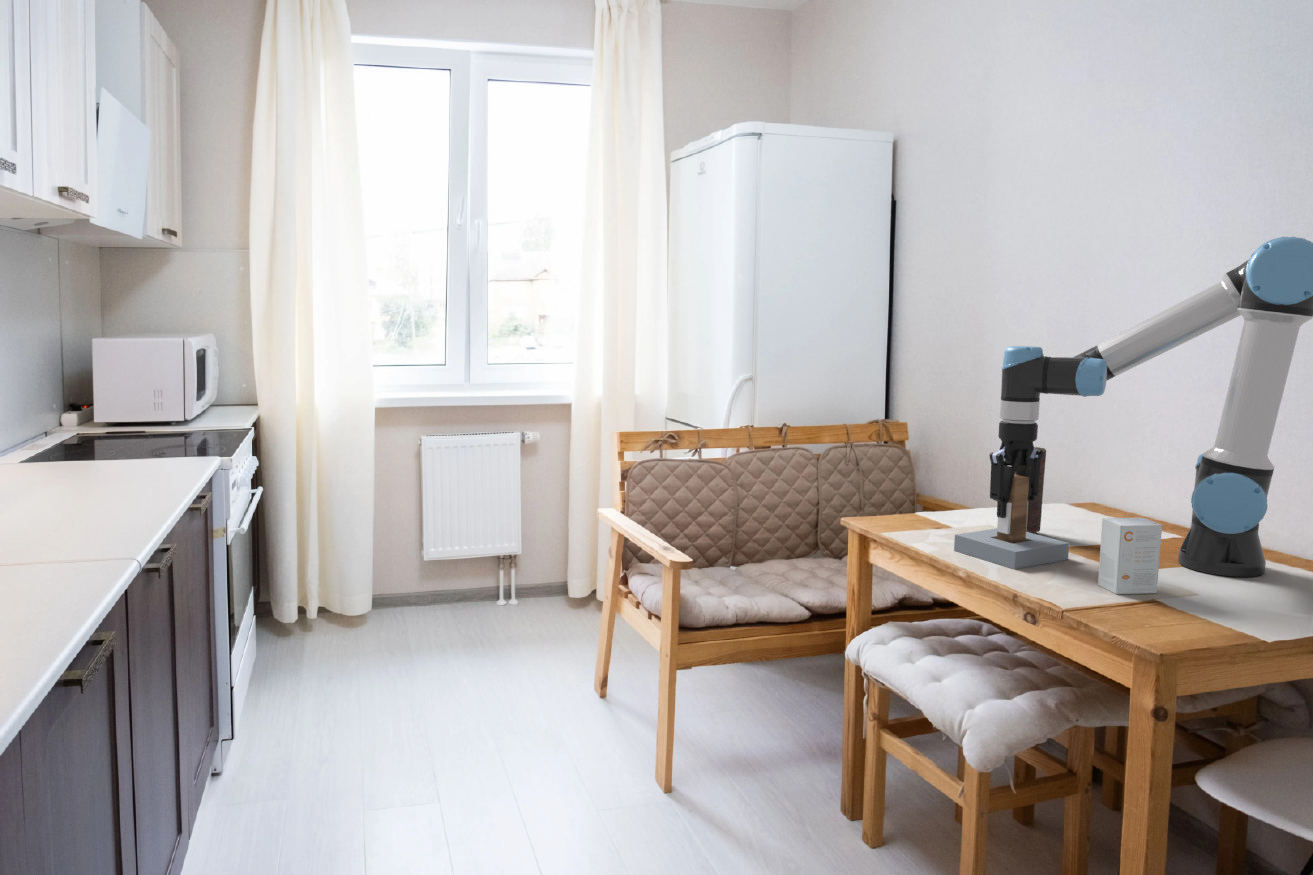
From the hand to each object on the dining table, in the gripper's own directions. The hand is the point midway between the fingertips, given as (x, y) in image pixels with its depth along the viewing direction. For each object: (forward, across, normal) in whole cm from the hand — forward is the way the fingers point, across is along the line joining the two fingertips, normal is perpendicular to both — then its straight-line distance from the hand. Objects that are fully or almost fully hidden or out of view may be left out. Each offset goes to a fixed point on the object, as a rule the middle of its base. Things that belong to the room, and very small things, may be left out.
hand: (1011, 531), depth 198 cm
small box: (+5, 0, +27) cm, 28 cm away
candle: (+5, -18, -12) cm, 22 cm away
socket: (+5, 0, 0) cm, 5 cm away
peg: (+4, 0, 0) cm, 4 cm away
